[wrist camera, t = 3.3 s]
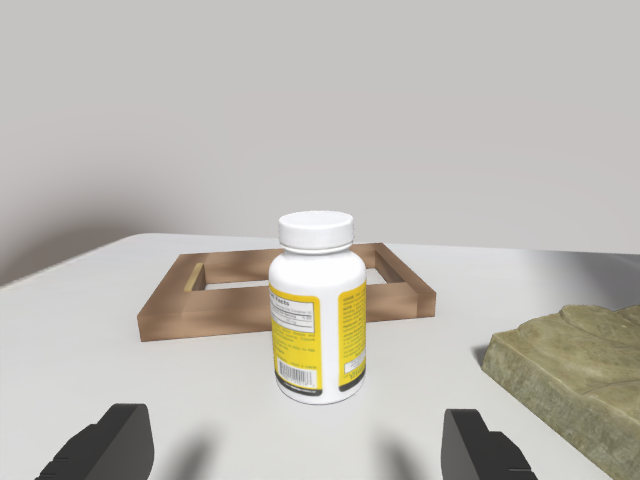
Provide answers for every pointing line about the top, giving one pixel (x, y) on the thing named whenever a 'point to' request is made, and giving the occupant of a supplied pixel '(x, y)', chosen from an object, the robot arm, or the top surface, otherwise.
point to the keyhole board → (263, 294)
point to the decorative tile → (578, 380)
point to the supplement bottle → (318, 308)
